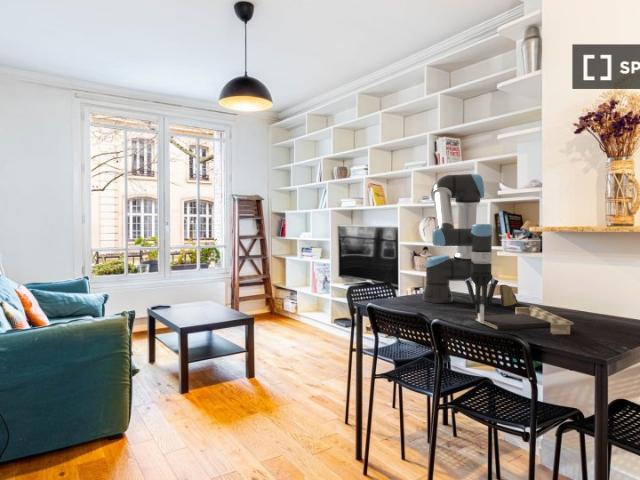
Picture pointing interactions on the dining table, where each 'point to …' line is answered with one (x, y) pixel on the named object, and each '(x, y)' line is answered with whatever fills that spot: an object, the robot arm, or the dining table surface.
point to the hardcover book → (513, 321)
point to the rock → (507, 296)
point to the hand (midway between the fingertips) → (480, 320)
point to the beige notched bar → (547, 319)
